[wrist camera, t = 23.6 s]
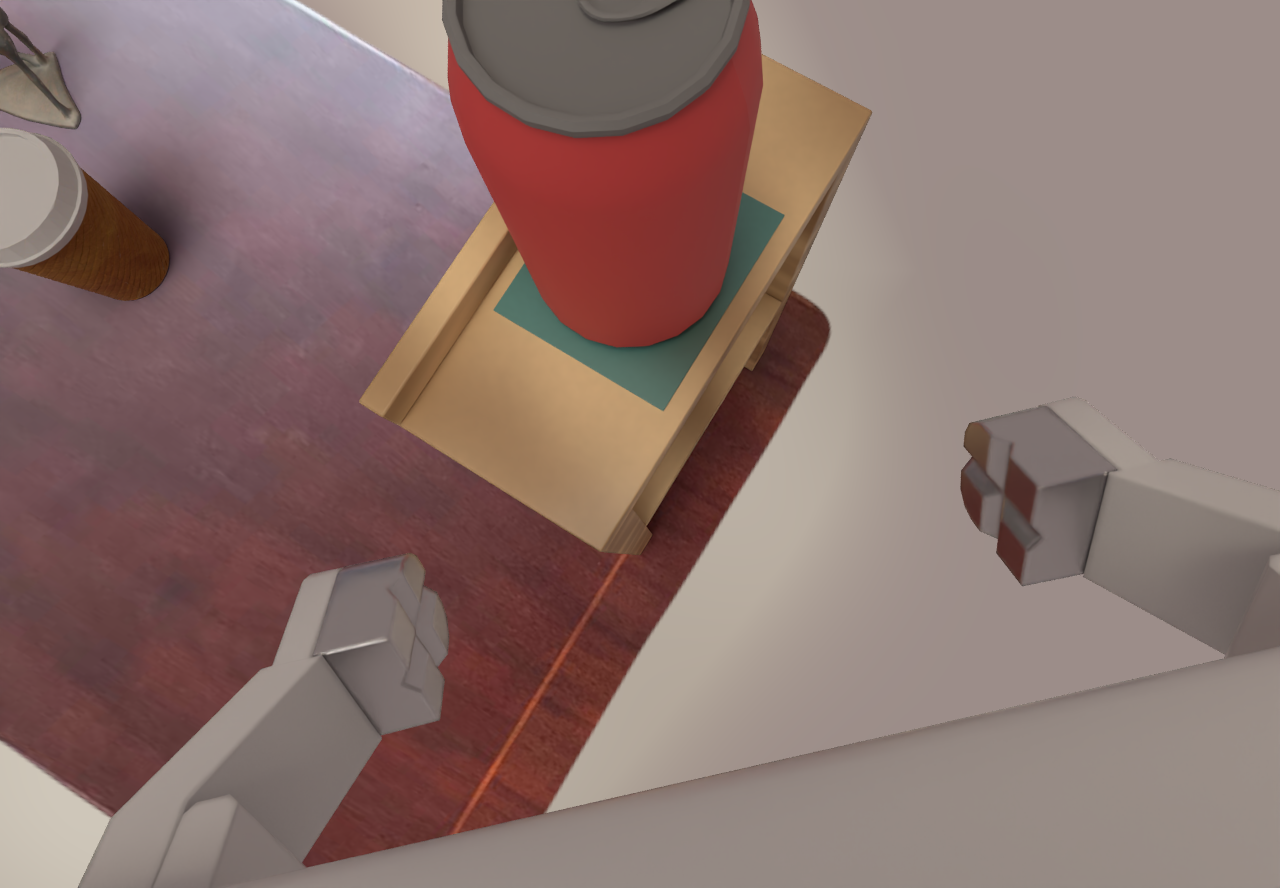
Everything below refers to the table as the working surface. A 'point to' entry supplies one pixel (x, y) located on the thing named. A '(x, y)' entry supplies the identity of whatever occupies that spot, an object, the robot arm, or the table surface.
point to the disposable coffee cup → (71, 223)
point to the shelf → (606, 375)
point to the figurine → (33, 83)
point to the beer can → (612, 148)
